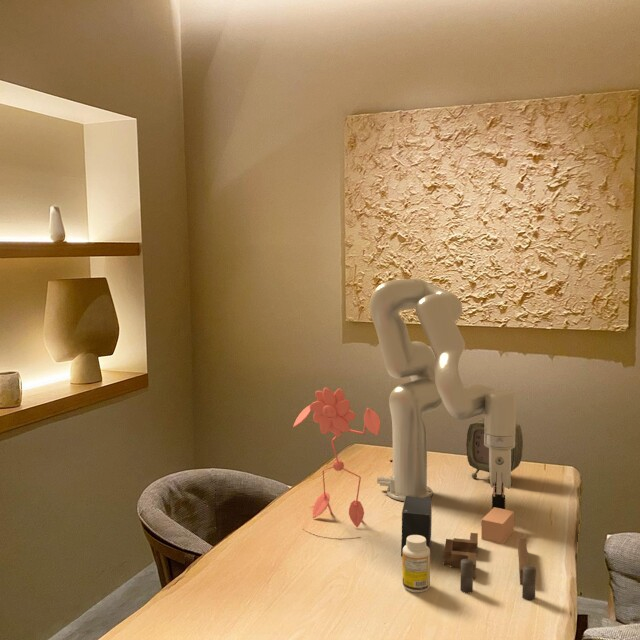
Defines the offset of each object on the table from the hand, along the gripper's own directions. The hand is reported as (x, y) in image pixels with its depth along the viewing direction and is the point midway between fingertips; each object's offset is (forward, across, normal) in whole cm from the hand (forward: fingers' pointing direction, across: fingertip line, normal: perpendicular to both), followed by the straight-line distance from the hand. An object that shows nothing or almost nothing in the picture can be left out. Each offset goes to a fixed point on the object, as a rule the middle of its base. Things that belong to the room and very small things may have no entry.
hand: (498, 510), depth 173 cm
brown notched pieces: (+2, -28, +2) cm, 29 cm away
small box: (+3, -21, +18) cm, 28 cm away
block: (+3, -9, 0) cm, 10 cm away
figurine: (+3, -13, +40) cm, 42 cm away
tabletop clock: (+3, +31, +1) cm, 31 cm away
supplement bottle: (+3, -39, +16) cm, 43 cm away
